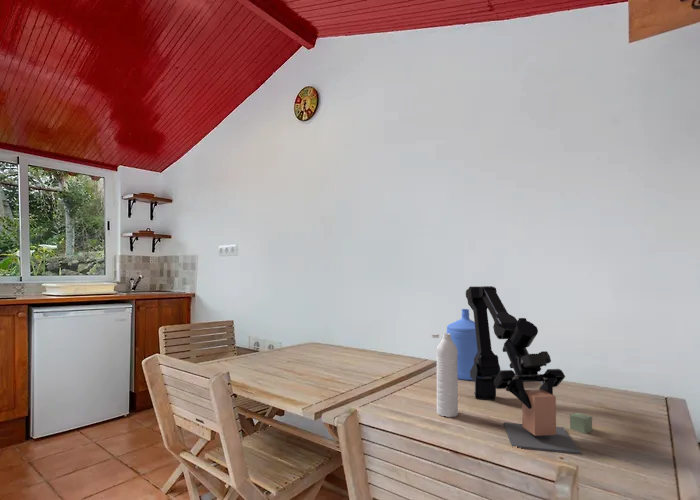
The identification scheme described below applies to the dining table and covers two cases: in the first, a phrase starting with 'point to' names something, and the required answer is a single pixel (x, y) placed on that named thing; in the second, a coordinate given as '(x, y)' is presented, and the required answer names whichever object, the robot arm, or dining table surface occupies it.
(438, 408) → the water bottle
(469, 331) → the water jug
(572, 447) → the charcoal mat
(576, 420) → the olive block
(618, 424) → the dining table surface
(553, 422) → the pink upright block
